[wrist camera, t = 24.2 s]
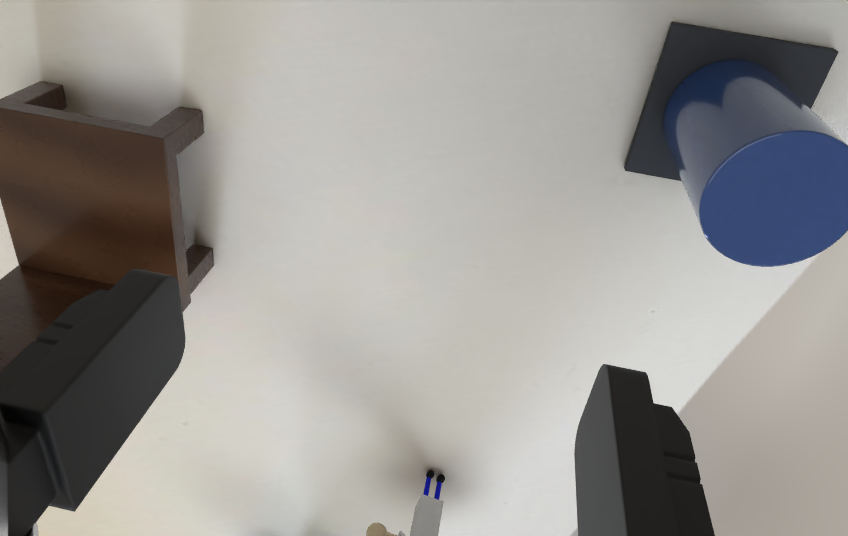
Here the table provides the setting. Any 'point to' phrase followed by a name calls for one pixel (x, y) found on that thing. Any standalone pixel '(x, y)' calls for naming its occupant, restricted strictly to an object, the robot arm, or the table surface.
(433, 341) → the table surface
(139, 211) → the miniature wooden chair
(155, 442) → the table surface
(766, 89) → the canister
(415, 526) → the toy
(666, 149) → the mat
